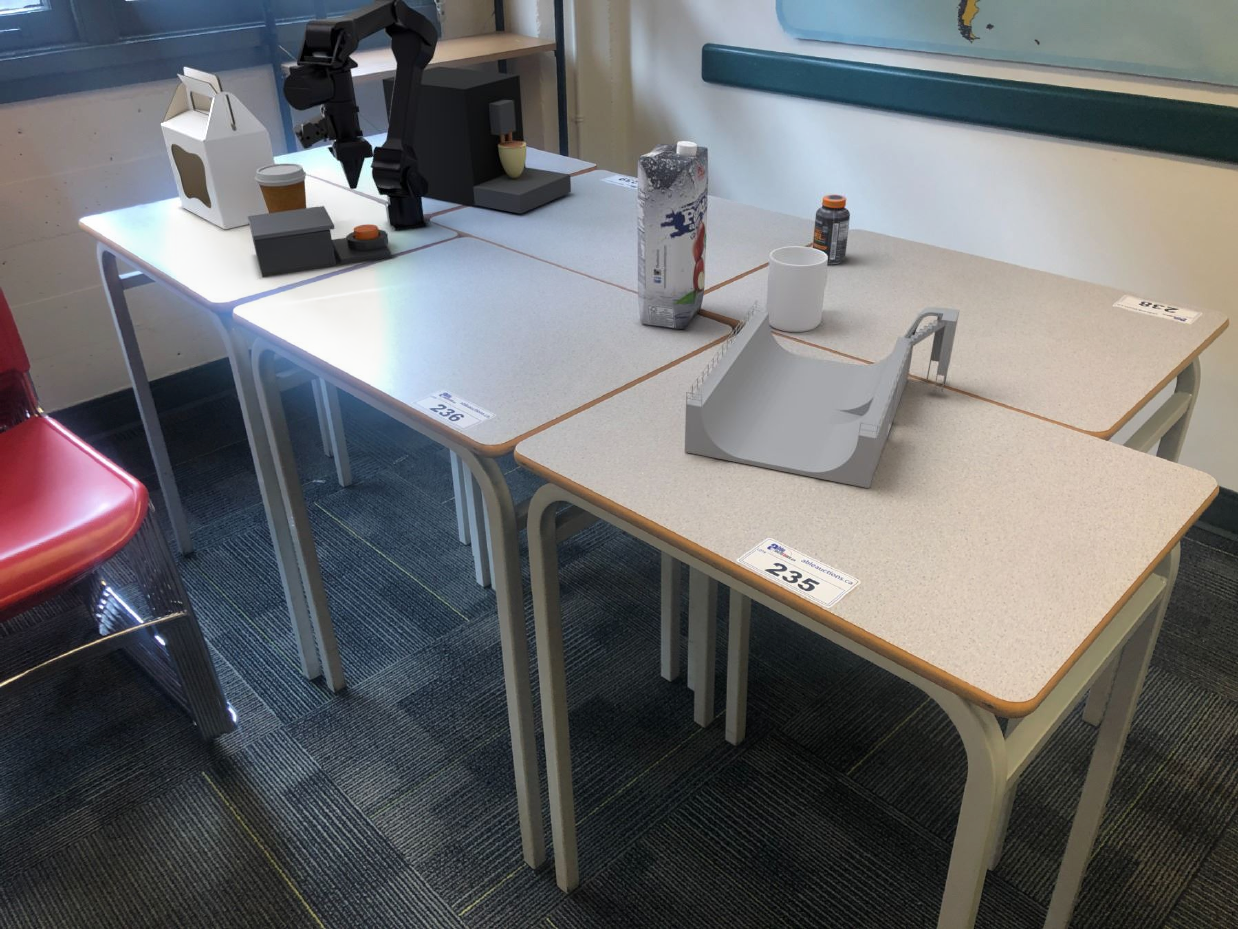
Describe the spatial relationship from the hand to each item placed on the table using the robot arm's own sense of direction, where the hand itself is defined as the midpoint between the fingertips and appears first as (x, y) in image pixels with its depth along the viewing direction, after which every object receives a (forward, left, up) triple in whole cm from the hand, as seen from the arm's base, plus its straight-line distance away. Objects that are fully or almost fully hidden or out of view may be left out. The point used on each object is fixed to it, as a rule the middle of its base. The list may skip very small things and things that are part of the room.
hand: (353, 188), depth 175 cm
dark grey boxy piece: (+13, +2, -11) cm, 17 cm away
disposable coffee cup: (+11, -17, -12) cm, 24 cm away
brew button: (-1, +2, -9) cm, 9 cm away
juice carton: (-39, +55, -12) cm, 68 cm away
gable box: (+21, -35, -12) cm, 43 cm away
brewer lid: (+12, +2, -4) cm, 13 cm away
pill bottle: (-76, +43, -12) cm, 88 cm away
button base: (+1, +2, -11) cm, 12 cm away
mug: (-57, +64, -12) cm, 86 cm away
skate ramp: (-43, +92, -12) cm, 102 cm away
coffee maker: (-31, -25, -12) cm, 41 cm away
